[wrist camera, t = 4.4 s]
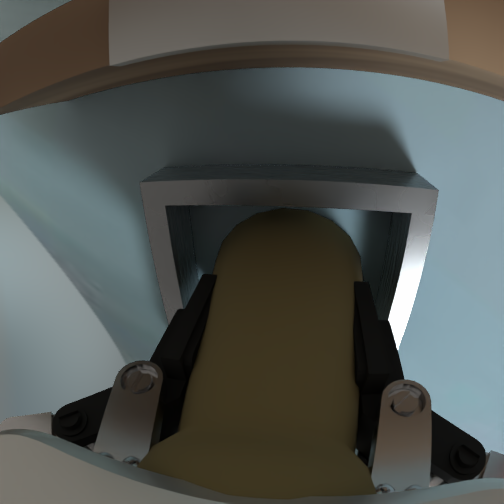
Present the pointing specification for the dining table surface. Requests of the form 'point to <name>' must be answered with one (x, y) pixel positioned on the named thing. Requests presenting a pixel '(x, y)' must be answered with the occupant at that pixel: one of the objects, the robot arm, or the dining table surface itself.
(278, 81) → the dining table surface
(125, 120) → the dining table surface
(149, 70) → the door edge
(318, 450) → the cork
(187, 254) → the collar
